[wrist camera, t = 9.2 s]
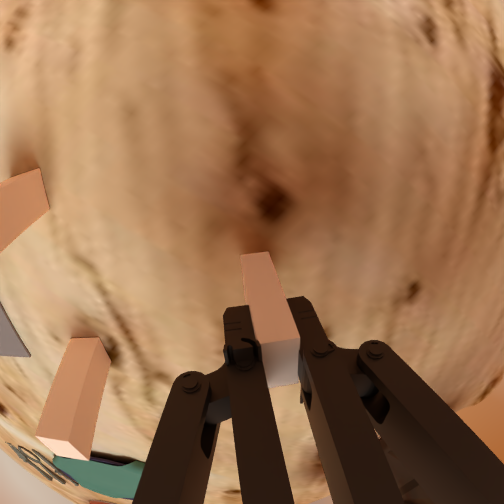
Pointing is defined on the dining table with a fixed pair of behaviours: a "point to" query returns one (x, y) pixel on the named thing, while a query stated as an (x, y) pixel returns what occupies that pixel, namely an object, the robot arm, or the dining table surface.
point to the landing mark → (10, 338)
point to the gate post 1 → (20, 204)
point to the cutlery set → (92, 473)
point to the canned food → (99, 502)
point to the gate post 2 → (75, 399)
